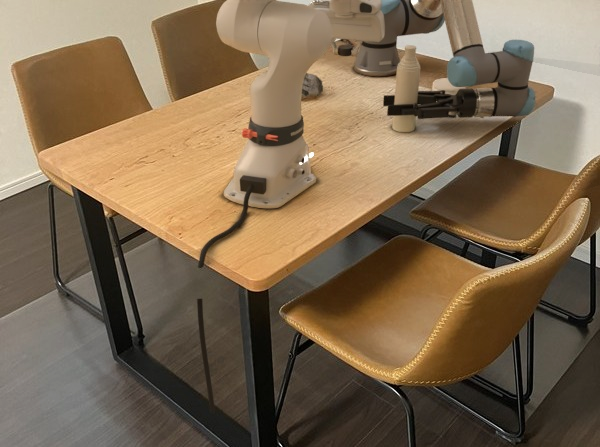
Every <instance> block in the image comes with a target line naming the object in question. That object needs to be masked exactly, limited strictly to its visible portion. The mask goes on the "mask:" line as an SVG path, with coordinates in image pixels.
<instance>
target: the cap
mask: <svg viewBox="0 0 600 447" xmlns="http://www.w3.org/2000/svg"><path fill="white" fill-rule="evenodd" d="M337 47H338V54H339V55H338V56H339V57H352V56H351V54H352V53H351V50H352V49H353V48H354V46H353V44H352V45H350V44H340V45H338V46H337Z"/></svg>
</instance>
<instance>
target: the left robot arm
mask: <svg viewBox="0 0 600 447" xmlns="http://www.w3.org/2000/svg"><path fill="white" fill-rule="evenodd" d="M381 5H382V1H381V0H313V1H310V2H309V4H308V5H307V4H304V3H297V2H288V1H281V0H225V1H224V2H223V3H222V4H221V6H220V8H219V10H218V12H217V14H216V19H215V20H216V21H215V24H216V25H215V27H216V32H217V35H218V37H219V40H220V41H221V43H223V44H225V45H226V46H228V47H231V48H233V49H235V50H238V51H239V52H242V53H248V54H253V55H259V56H266V57H268V63H269V64H268V69H267V70H266V71H263V72H261V73H260V74H258V75H257V76H256V77H255V78H254V79H253V80H252V82H251V84H250V86H249V101H250V102H249V103H250V117H249V123H248V126H247V128H245V127H244V128H243V129H242V131H241V137H242V138H244V139H247V140H246V142H245V144H244V146H243V148H242V151H241V153H240V154H239V157H238V159H237V161H236V163H235V166H234V167H233V168H234V169H233V177H232V178H231V180H230V181H229V183H228V184H227V186H226V187H225V188H224V190H223V196H224V198H225V199H228V200H229V201H231V202H233V203H237V204H239V205H243V206H242V212H241V213H240V216H239V219H238V220H237V221H236V222H235V223H234V224H233V225H232V226H230V227H229V228H228V229H226V230H224V231H222V232H221V233H219V234H217V235H215V236H214V237H212V238H211V239H209V240H208V241H207V242H206V243H205V245H203V247H202V249H201V251H200V255H199V258H198V259H199V260H198V265H197V268H198V269H203V267H204V266H205V261H206V256H207V253H208V250H209V249H210V248H211V247H212V246H213V245H214V244H215V243H216V242H218V241H220V240H221V239H224V238H225V237H227V236H229V235H231V234H232V233H233V232H235V231H236V230H237V229H238V228H239V227H240V226H241V225H242V224H243V223H244V221H245V219H246V216H247V213H248V210H249V207H252V208H258V209H278V208H280V207H283V205H285V204H286V203H288V202H289V201H292V199H294V198H295V197H296V196H298V195H299V194H301V193H303V192H304V191H305V190H307V189H308V188H309V187H311V186H313V185H314V184H316V182H317V176H316V175H315V174H314V173H312V167H311V158H312V157H314V152H310V147H309V145H308V144H307V142H306V140H305V138H304V133H305V132H304V131H305V130H304V127H305V121H304V116H303V115H302V99H303V98H302V85H303V81H304V78H305V75H306V73H308V71H309V70H310V68H312V66H313V65H314V64H315V63H317V61H319V60H321V59H322V58H323V57H324V56H325V55H326V53H327V52H328V50H329V49H330V47H331V48H332V55H334V56H340V55H339V54H338V47H339V46H338V45H337V44H336V40H341V39H347V40H349V41H355V45H356V46H355V47H353V49H352V50H351V53H352V54H351V56H350V57H355V58H356V57H357V56H358V52H359V49H360V46H361V44H362V42H363V41H373V42H380V41H381V40H382V39H383V38H384V35H385V22H384V15H383V13H382V11H381V10H380V8H381ZM203 303H204V302H203V298H196V304H197V305H196V307H197V322H198V323H197V324H198V334H199V341H200V348H201V356H202V363H203V370H204V377H205V382H206V390H207V397H208V404H209V412H210V414H215V412H216V410H215V400H214V393H213V384H212V379H211V371H210V366H209V358H208V351H207V350H208V349H207V343H206V332H205V322H204V307H203V306H204V305H203Z"/></svg>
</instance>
